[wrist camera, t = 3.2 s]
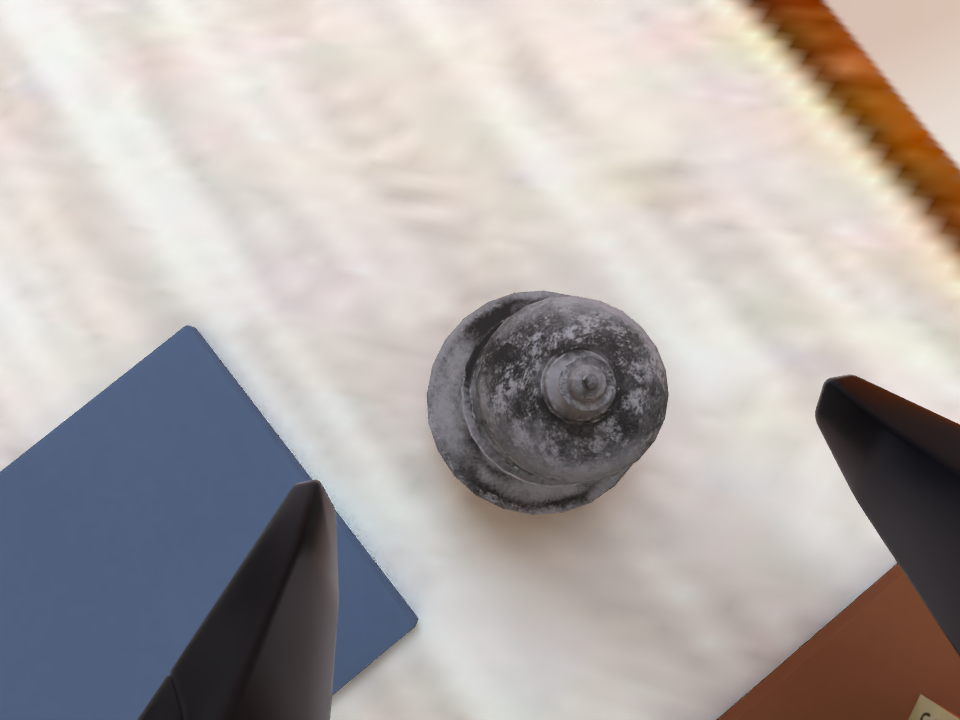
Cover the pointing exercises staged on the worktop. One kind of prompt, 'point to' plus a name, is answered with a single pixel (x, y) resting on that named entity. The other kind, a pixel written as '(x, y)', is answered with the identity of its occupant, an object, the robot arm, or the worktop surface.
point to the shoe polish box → (930, 711)
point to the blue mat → (151, 540)
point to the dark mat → (863, 664)
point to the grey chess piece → (545, 400)
